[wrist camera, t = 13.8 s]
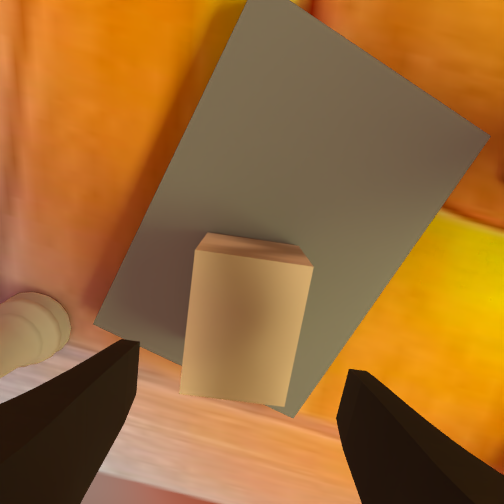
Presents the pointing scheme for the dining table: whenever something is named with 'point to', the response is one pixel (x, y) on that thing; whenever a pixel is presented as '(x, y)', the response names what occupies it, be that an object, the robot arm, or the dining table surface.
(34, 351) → the rook chess piece
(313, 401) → the dining table surface
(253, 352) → the block
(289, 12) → the board
